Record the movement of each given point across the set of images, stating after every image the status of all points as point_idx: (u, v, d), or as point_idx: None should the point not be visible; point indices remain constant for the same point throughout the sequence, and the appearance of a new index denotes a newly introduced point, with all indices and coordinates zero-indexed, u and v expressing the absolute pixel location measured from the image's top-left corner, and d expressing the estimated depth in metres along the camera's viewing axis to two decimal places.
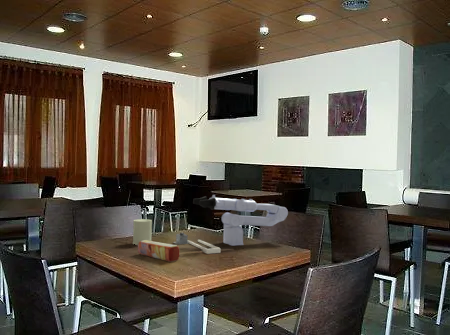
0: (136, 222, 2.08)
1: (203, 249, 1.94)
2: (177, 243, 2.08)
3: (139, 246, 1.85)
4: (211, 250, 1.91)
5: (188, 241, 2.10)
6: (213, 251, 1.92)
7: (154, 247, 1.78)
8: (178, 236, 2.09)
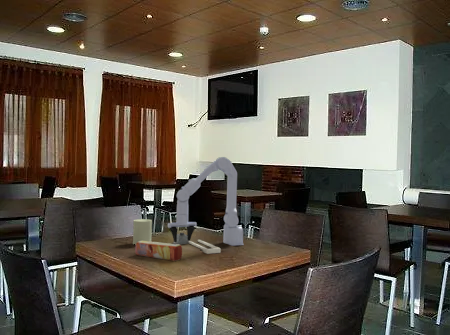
0: (136, 222, 2.08)
1: (203, 249, 1.94)
2: (177, 243, 2.08)
3: (137, 247, 1.83)
4: (211, 250, 1.91)
5: (188, 241, 2.10)
6: (213, 251, 1.92)
7: (156, 247, 1.78)
8: (178, 236, 2.09)
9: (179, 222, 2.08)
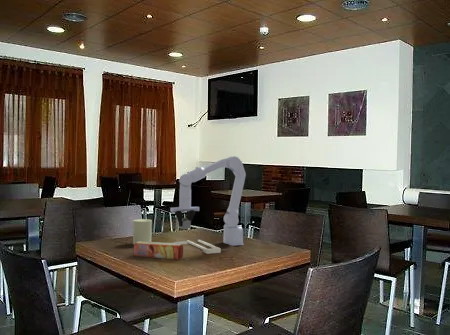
0: (136, 222, 2.08)
1: (203, 249, 1.94)
2: None
3: (136, 248, 1.81)
4: (211, 250, 1.91)
5: (188, 241, 2.10)
6: (213, 251, 1.92)
7: (157, 247, 1.78)
8: None
9: (182, 206, 2.08)
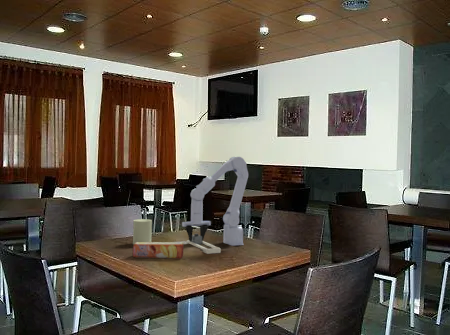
0: (136, 222, 2.08)
1: (203, 249, 1.94)
2: None
3: (136, 249, 1.79)
4: (211, 250, 1.91)
5: (188, 241, 2.10)
6: (213, 251, 1.92)
7: (159, 247, 1.78)
8: (193, 237, 2.08)
9: (193, 221, 2.07)
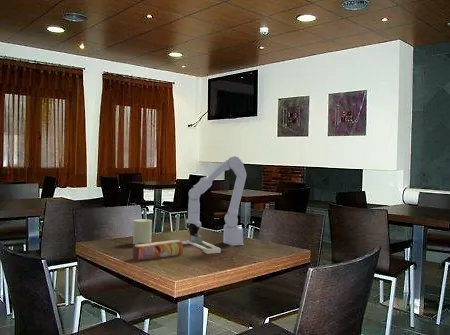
0: (136, 222, 2.08)
1: (203, 249, 1.94)
2: None
3: (142, 251, 1.74)
4: (211, 250, 1.91)
5: (188, 241, 2.10)
6: (213, 251, 1.92)
7: (163, 246, 1.80)
8: (193, 237, 2.08)
9: (198, 220, 2.12)
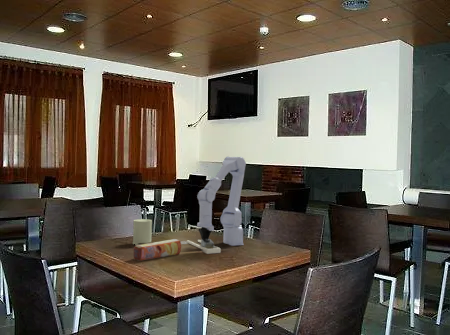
0: (136, 222, 2.08)
1: (203, 249, 1.94)
2: None
3: (144, 251, 1.74)
4: (211, 250, 1.91)
5: (188, 241, 2.10)
6: (213, 251, 1.92)
7: (164, 246, 1.81)
8: (203, 242, 1.96)
9: (210, 223, 1.99)
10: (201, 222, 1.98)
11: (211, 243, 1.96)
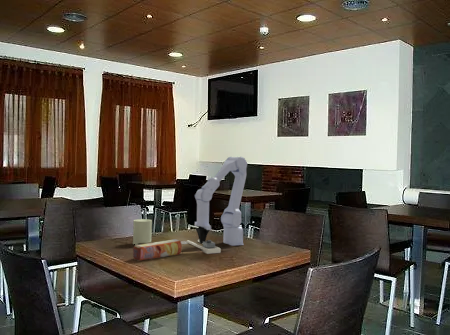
0: (136, 222, 2.08)
1: (203, 249, 1.94)
2: None
3: (144, 251, 1.74)
4: (211, 250, 1.91)
5: (188, 241, 2.10)
6: (213, 251, 1.92)
7: (164, 246, 1.81)
8: (205, 244, 1.95)
9: (208, 223, 2.02)
10: (198, 221, 2.01)
11: (213, 243, 1.94)
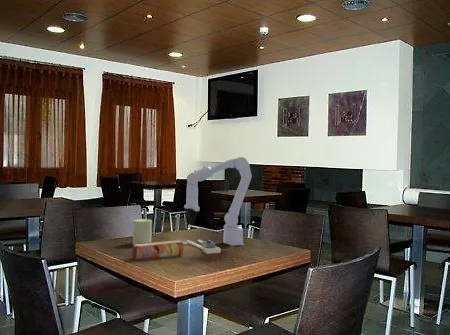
0: (136, 222, 2.08)
1: (203, 249, 1.94)
2: None
3: (140, 251, 1.75)
4: (211, 250, 1.91)
5: (188, 241, 2.10)
6: (213, 251, 1.92)
7: (163, 246, 1.80)
8: (205, 244, 1.95)
9: (196, 205, 2.12)
10: (188, 203, 2.11)
11: (213, 243, 1.94)
